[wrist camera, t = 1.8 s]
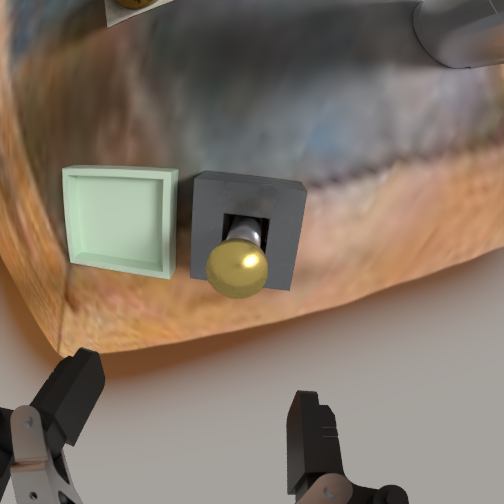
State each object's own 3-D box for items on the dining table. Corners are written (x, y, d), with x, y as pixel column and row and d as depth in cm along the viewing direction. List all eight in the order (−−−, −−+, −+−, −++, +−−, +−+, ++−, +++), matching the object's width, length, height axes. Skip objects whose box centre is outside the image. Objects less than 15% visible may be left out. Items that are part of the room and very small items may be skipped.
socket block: (301, 182, 30) (307, 191, 25) (287, 268, 34) (289, 290, 29) (205, 170, 30) (194, 178, 26) (200, 257, 34) (190, 277, 30)
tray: (178, 168, 30) (171, 172, 28) (175, 269, 35) (169, 279, 33) (74, 165, 30) (62, 168, 28) (80, 254, 35) (70, 262, 33)
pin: (271, 204, 31) (271, 247, 20) (266, 242, 33) (263, 302, 22) (229, 199, 31) (207, 239, 20) (226, 237, 33) (204, 294, 22)
